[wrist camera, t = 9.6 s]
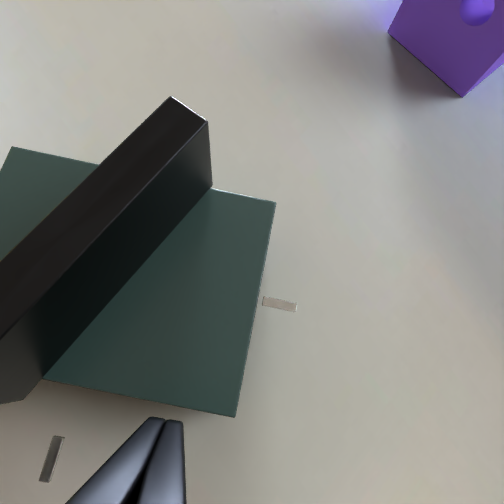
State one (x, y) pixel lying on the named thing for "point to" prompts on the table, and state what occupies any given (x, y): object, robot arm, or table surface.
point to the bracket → (453, 38)
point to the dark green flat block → (157, 296)
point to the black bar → (97, 242)
